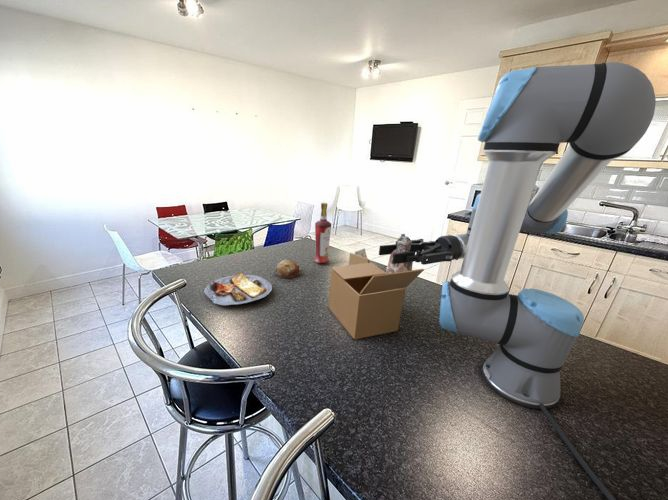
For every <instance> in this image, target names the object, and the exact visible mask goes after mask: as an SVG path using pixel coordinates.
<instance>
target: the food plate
mask: <svg viewBox="0 0 668 500" xmlns="http://www.w3.org/2000/svg"><path fill="white" fill-rule="evenodd" d="M272 289H273V285H272V283H271V282H270V281H269V280H267V279H265V278H263V277H261V276H259V275H255V274H246V273H244V274H243V272H242V271H241V272H238V273H237V274H232V275H227V276H222V277H218V278H216V279H214V280H212V281H210V282H209V283H207V284H206V286H205V287H204V289H203V293H204V294H205V296H206V297H207V298H208V299H209V300H211V301H212V303H213V304H216V305H220V306H231V305H242V304H248V303H251V302H255V301H258V300H260V299H263V298H265V297H267V295H269V294H270V293H271V292H272Z"/></svg>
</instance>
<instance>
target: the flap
mask: <svg viewBox="0 0 668 500" xmlns="http://www.w3.org/2000/svg"><path fill="white" fill-rule="evenodd" d="M424 271H425V269H424V268H418V269H412V270H410V271H403V272H396V273H388V274H381V275H374V276H373V277H372V278H371V279H370V281H369V282H368V283H367V285H366V286H365V287H364V288H363V290H362V291H361V292H360V294H366V293H373V292H379V291H386V290H392V289H399V288H405V289H406V288H407V287H408V286H409V285H410V284H411V283H413V281H414V280H416V279H417V278H418V277H419V276H420V275H421V274H422V273H423V272H424Z"/></svg>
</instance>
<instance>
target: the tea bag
mask: <svg viewBox="0 0 668 500" xmlns="http://www.w3.org/2000/svg"><path fill="white" fill-rule="evenodd" d="M354 254H356V255H360V256H362V257H365V258H367V259H368V256H367V252H366V248H361V249H359V250H356V251H354Z"/></svg>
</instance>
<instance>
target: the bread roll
mask: <svg viewBox="0 0 668 500" xmlns="http://www.w3.org/2000/svg"><path fill="white" fill-rule="evenodd" d="M299 274H300V266H299V265H298V264H297V263H296V262H295V261H293V260H289V259H283V260H280V262H278V264H277V265H276V270H275V275H277V276H278V277H280V278H282V279H293V278H296V277H297V276H299Z"/></svg>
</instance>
